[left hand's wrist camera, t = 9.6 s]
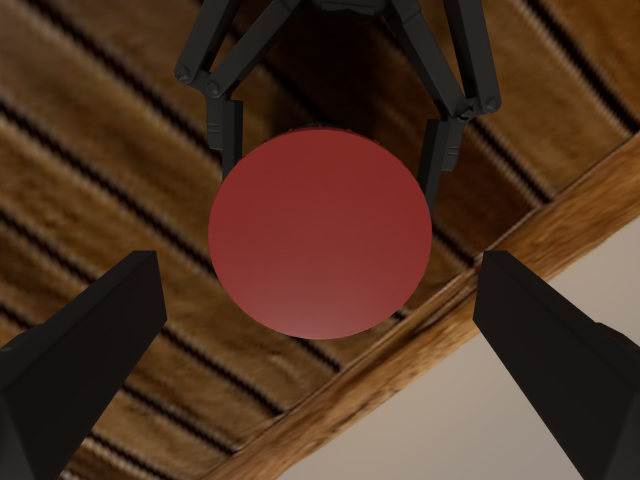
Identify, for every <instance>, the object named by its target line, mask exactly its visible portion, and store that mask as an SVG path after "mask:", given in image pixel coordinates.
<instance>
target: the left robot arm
mask: <svg viewBox="0 0 640 480" xmlns="http://www.w3.org/2000/svg"><path fill="white" fill-rule="evenodd" d="M166 321H167V314H166V308H165V302H164V296H163V290H162V284H161V278H160V272H159V266H158V260H157V254H156V251H133V252H131V253H130V254H129V255H128V256H126V257H125V258H124V259H123V260H121V261H120V262H119V263H118V264H116V265H115V266H114V267H113V268H111V269H110V270H109V271H108V272H106V273H105V274H104V275H103V276H101V277H100V278H99V279H98V280H97V281H95V282H94V283H93V284H92V285H90V286H89V287H88V288H87V289H85V290H84V291H83V292H82V293H80V294H79V295H78V296H77V297H75V298H74V299H73V300H72V301H70V302H69V303H68V304H67V305H65V306H64V307H63V308H62V309H61V310H59V311H58V312H57V313H56V314H54V315H53V316H52V317H51V318H49V319H48V320H47V321H46V322H44V323H43V324H39V325H37V326H35V327H33V328H31V329H29V330H27V331H25V332H23V333H21V334H19V335H17V336H16V337H15V338H13V339H12V340H11V341H10V342H8V343H7V344H6V345H4V346H3V347H2V348H1V349H0V480H56V479H57V478H58V476H59V475H60V474H61V472H62V471H63V469H64V468H65V466H66V465H67V463H68V462H69V461H70V459H71V458H72V456H73V455H74V453H75V452H76V451H77V449H78V448H79V446H80V445H81V443H82V442H83V440H84V439H85V438H86V436H87V435H88V433H89V432H90V430H91V429H92V428H93V426H94V425H95V423H96V422H97V420H98V419H99V417H100V416H101V415H102V413H103V412H104V410H105V409H106V407H107V406H108V405H109V403H110V402H111V400H112V399H113V397H114V396H115V394H116V393H117V392H118V390H119V389H120V387H121V386H122V384H123V383H124V382H125V380H126V379H127V377H128V376H129V374H130V373H131V371H132V370H133V369H134V367H135V366H136V364H137V363H138V361H139V360H140V359H141V357H142V356H143V354H144V353H145V351H146V350H147V348H148V347H149V346H150V344H151V343H152V341H153V340H154V338H155V337H156V336H157V334H158V333H159V331H160V330H161V328H162V327H163V325H164V324H165V323H166ZM473 321H474V323H475V324H476V325H477V327H478V328H479V330H480V331H481V333H482V334H483V335H484V337H485V338H486V340H487V341H488V343H489V344H490V346H491V347H492V348H493V350H494V351H495V353H496V354H497V356H498V357H499V359H500V360H501V361H502V363H503V364H504V366H505V367H506V369H507V370H508V371H509V373H510V374H511V376H512V377H513V379H514V380H515V382H516V383H517V384H518V386H519V387H520V389H521V390H522V392H523V393H524V394H525V396H526V397H527V399H528V400H529V402H530V403H531V405H532V406H533V407H534V409H535V410H536V412H537V413H538V415H539V416H540V417H541V419H542V420H543V422H544V423H545V425H546V426H547V427H548V429H549V430H550V432H551V433H552V435H553V436H554V438H555V439H556V440H557V442H558V443H559V445H560V446H561V448H562V449H563V450H564V452H565V453H566V455H567V456H568V458H569V459H570V461H571V462H572V463H573V465H574V466H575V468H576V469H577V471H578V472H579V473H580V475H581V476H582V478H583V479H584V480H640V347H639V346H638V345H637V344H635V343H634V342H633V341H631V340H630V339H629V338H628V337H626V336H625V335H624V334H622V333H620V332H618V331H616V330H614V329H612V328H610V327H608V326H606V325H604V324H602V323H596V322H594V321H593V320H592V319H591V318H589V317H588V316H587V315H586V314H584V313H583V312H582V311H581V310H579V309H578V308H577V307H576V306H574V305H573V304H572V303H571V302H569V301H568V300H567V299H566V298H565V297H563V296H562V295H561V294H560V293H558V292H557V291H556V290H555V289H553V288H552V287H551V286H550V285H548V284H547V283H546V282H545V281H543V280H542V279H541V278H540V277H539V276H537V275H536V274H535V273H534V272H532V271H531V270H530V269H529V268H527V267H526V266H525V265H524V264H522V263H521V262H520V261H519V260H517V259H516V258H515V257H514V256H512V255H511V254H510V253H509V252H507V251H484V254H483V260H482V266H481V272H480V278H479V284H478V290H477V296H476V302H475V308H474V314H473Z"/></svg>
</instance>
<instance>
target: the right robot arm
mask: <svg viewBox="0 0 640 480" xmlns="http://www.w3.org/2000/svg"><path fill="white" fill-rule="evenodd" d="M241 2H242V0H204V3H203V5H202V7H201V9H200V12H199V14H198V16H197V19H196V21H195V23H194V25H193V28H192V30H191V32H190V34H189V37H188V39H187V41H186V44H185V46H184V48H183V50H182V53H181V55H180V57H179V59H178V62H177V64H176V66H175V70H174V73H175V77H176V78H177V80H178V81H179V82H181V83H184V84H187V85H189V86H191V87H193V88H195V89H197V90H199V91H201V92H202V93H203V94H204V96H205V98H206V102H207V142H208V144H209V147H210V149H219V150H222V181H224V180H225V178H226V177H227V175H228V174H229V172H230V171H231V170H232V169H233V168H234V167H235V166H236V164H237V163H238V160H239V159H240V158H241V157H242V132H243V101H237V100H231V96H233V95H232V93H233V92H234V90H235V89H236V88H237V87H238V86H239V85H240V84H241V82H242V81H243V80H244V79H245V78H246V77H247V75H248V74H249V73H250V72H251V71H252V70H253V69H254V67H255V66H256V65H257V64H258V63H259V62H260V61H261V59H262V58H263V57H264V56H265V55H266V54H267V52H268V51H269V50H270V49H271V48H272V47H273V46H274V44H275V43H276V42H277V41H278V40H279V39H280V38H281V36H282V35H283V34H284V33H285V32H286V31H287V29H288V28H289V27H290V26H291V25H292V24H293V23H294V22H296V21H297V20H298V19H299V18H300V17H301V16H302V14H303V13H304V12H305V11H306V10H307V9H308V7H309V6H310V7H311V8H312V9H313V10H314V11H315V12H317V13H319V14H321V17H327V18H336V17H342V16H348V17H350V18H353V19H355V20H357V21H365V22H370V21H371V20H372V19H376V18H378V17H380V16H381V15H383V16H384V18H385V20H386V22H387V24H388V25H389V27H390V29H391V30H392V31H393V32H394V33H395V34H396V36H397V38H398V39H399V41H400V43H401V45H402V47H403V48H404V50H405V52H406V54H407V56H408V57H409V59H410V61H411V63H412V64H413V66H414V68H415V70H416V72H417V73H418V75H419V77H420V79H421V81H422V82H423V84H424V86H425V88H426V90H427V91H428V93H429V95H430V97H431V99H432V100H433V102H434V104H435V106H436V107H437V109H438V111H439V113H440V115H441V120H433V119H428V120H427V126H426V131H425V137H424V142H423V147H422V153H421V158H420V164H419V169H418V175H417V180H416V181H417V182H419V186H420V188H421V190H422V192H423V194H424V196H425V199H426V202H427V205H428V208H429V213H430V218H432V213H433V208H434V203H435V198H436V193H437V188H438V183H439V178H440V174H441V170H446V171H452V170H453V168H454V167H455V165H456V163H457V159H458V154H459V148H460V145H461V140H462V136H463V131H464V127H465V125H466V123H467V122H468V121H470V120H471V119H472V118H473V117H476V116H480V115H483V114H487V113H489V114H490V113H494V112H496V111H497V110H498V109H499V108H500V106H501V96H500V91H499V86H498V82H497V77H496V72H495V67H494V62H493V57H492V52H491V48H490V43H489V38H488V33H487V28H486V23H485V18H484V14H483V9H482V4H481V0H443V2H444V7H445V11H446V16H447V20H448V24H449V28H450V33H451V37H452V41H453V45H454V49H455V54H456V58H457V62H458V66H459V71H460V75H461V79H462V83H463V88H464V92H465V96H466V97H465V96H464V94H463V92H462V90H461V88H460V86H459V84H458V82H457V81H456V79H455V77H454V75H453V73H452V71H451V69H450V67H449V65H448V64H447V62H446V60H445V58H444V56H443V54H442V52H441V50H440V48H439V46H438V45H437V43H436V41H435V39H434V37H433V35H432V33H431V31H430V29H429V28H428V26H427V24H426V22H425V20H424V18H423V16H422V14H421V8H420V5H419V2H418V0H273V1H272V2H271V3H270V5H269V6H268V7H267V8H266V9H265V11H264V12H263V13H262V14H261V15H260V16H259V18H258V19H257V20H256V21H255V22H254V24H253V25H252V26H251V27H250V28H249V30H248V31H247V32H246V33H245V34H244V36H243V37H242V38H241V39H240V40H239V42H238V43H237V44H236V45H235V46H234V48H233V49H232V50H231V51H230V52H229V53H228V55H227V56H226V57H225V58H224V59H223V61H222V62H221V63H220V64H219V65H218V67H217V68H216V69H215V70H214V71H213V73H211V72H209V70H210V68H211V66H212V64H213V62H214V60H215V57H216V55H217V53H218V51H219V49H220V47H221V45H222V42H223V40H224V38H225V36H226V34H227V32H228V30H229V28H230V25H231V23H232V21H233V19H234V17H235V15H236V13H237V11H238V8H239V6H240V4H241Z"/></svg>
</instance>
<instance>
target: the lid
mask: <svg viewBox="0 0 640 480" xmlns="http://www.w3.org/2000/svg"><path fill="white" fill-rule="evenodd" d="M402 162H403V161H402V160H401V159H400V158H398V157H397V156H396V157H395V156H394V155H393V154H391V153H390V152H389V151H388V150H386V149H385V148H384V147H382V146H381V145H379V142H378V141H377V140H375V139H374V140H371V139H369V138H367V137H365V136H362V135H360V134H358V133H355V132H352V130H351V129H349V128H348V129H347V130H344V129H340V128H332V127H322V126H321V125H319V127H308V128H301V129H295V130H293V128H292V129H290V130H289V132H285V133H282V134H280V135H278V136H275V137H273V138H271V139H269V140H267V139H265V140H263V141H262V142H261V145H259V146H258V147H256V148H255V149H254V150H252V151H251V152H250V153H248V154H247V155H246V156H243V157H241V158H240V159H239V160H238V163H237V164H236V166H235V167H234V168H233V169H232V170H231V171H230V172H229V174H228V175H227V177H226V178H225V180H224V181H222V182H221V186H220V188H219V190H218V192H217V194H216V197H215V199H214V202H213V205H212V208H211V212H210V218H209V225H208V243H209V250H210V256H211V259H212V263H213V267H214V269H215V271H216V274H217V276H218V278H219V280H220V282H221V284H222V285H223V287H224V289H225V291H226V292H227V293H228V294H229V296H230V297H231V298H232V300H233V301H234V302H235V303H236V304H237V305H238V306H239V307H240V308H241V309H242V310H243V311H244V312H246V313H247V314H248V315H249V316H251V317H252V318H253V319H255V320H256V321H258V322H260V323H261V324H263V325H265V326H267V327H269V328H271V329H273V330H275V331H278V332H281V333H284V334H287V335H291V336H296V337H300V338H309V339H332V338H340V337H345V336H349V335H353V334H356V333H359V332H362V331H364V330H367V329H369V328H371V327H373V326H375V325H377V324H379V323H380V322H382V321H383V320H385V319H387V318H388V317H390V316H391V315H392V314H393V313H394V312H396V311H397V310H398V309H399V308H400V307H401V306H402V305H403V304H404V303H405V302H406V301H407V300H408V299H409V297H410V296H411V294H412V293H413V292H414V290H415V289H416V287H417V286H418V284H419V282H420V280H421V278H422V276H423V274H424V271H425V269H426V266H427V264H428V260H429V255H430V251H431V242H432V225H431V218H430V213H429V208H428V205H427V202H426V199H425V196H424V194H423V192H422V190H421V188H420V186H419V182H417V181H416V180H415V178H414V177H413V175H412V174H411V172H410V171H409V170H408V169H407V168H406V167H405V166H404V164H403V163H402Z"/></svg>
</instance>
